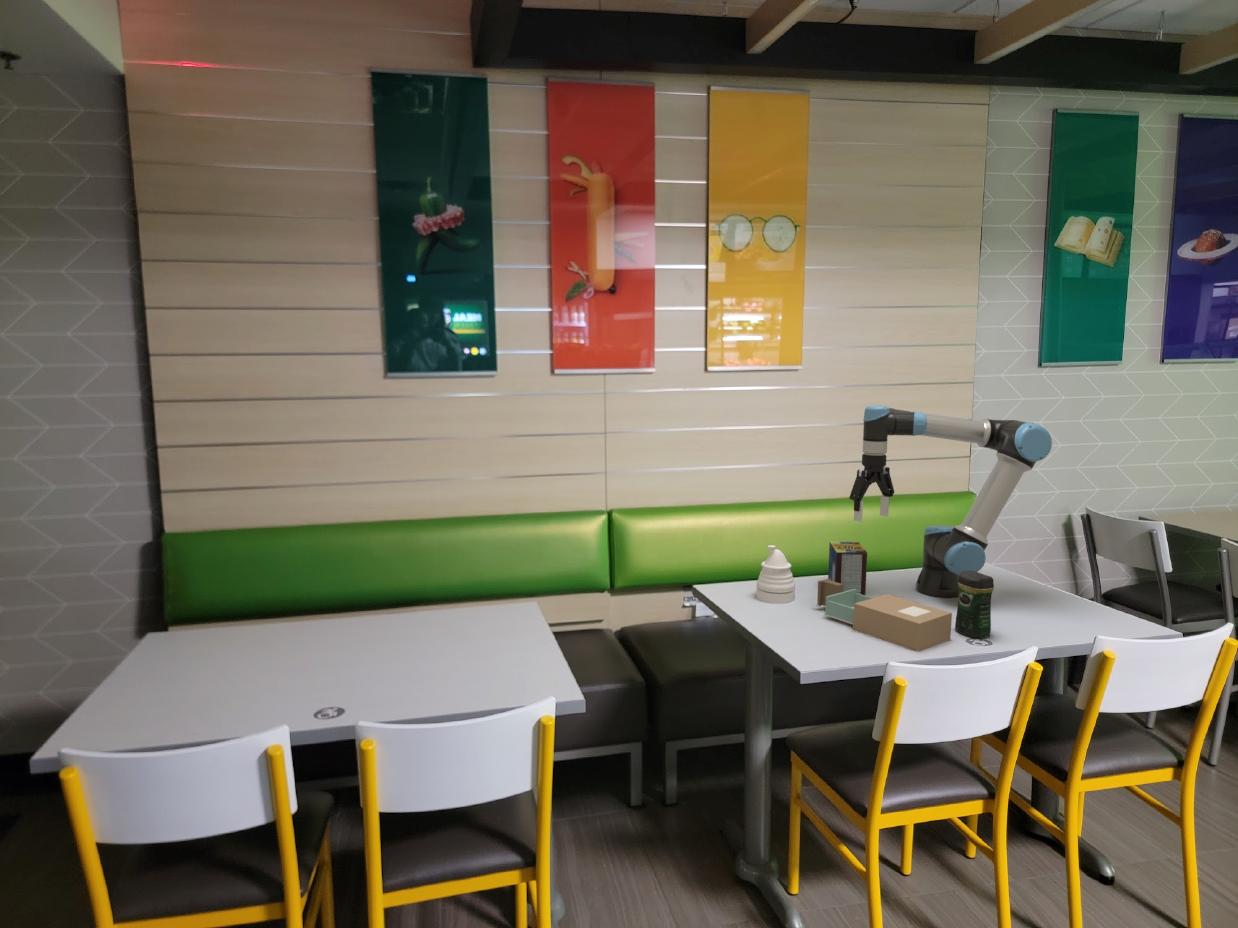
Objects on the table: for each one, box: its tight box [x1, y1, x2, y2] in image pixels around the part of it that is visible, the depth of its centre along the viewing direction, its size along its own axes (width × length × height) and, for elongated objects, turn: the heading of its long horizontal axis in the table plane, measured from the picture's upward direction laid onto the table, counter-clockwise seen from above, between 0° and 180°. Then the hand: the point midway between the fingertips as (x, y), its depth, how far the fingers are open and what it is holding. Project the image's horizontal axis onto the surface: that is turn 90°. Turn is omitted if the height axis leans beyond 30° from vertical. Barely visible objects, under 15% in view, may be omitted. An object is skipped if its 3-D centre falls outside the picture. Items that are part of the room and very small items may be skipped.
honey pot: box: [755, 544, 796, 605], centre depth 272 cm, size 13×13×18 cm
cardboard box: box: [852, 593, 953, 652], centre depth 238 cm, size 16×22×8 cm
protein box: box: [827, 540, 868, 596], centre depth 282 cm, size 10×15×16 cm
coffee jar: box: [954, 570, 995, 639], centre depth 239 cm, size 10×8×19 cm
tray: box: [816, 578, 873, 625], centre depth 251 cm, size 14×28×8 cm, turn 36°
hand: (871, 518), depth 263 cm, fingers open, 13 cm apart
